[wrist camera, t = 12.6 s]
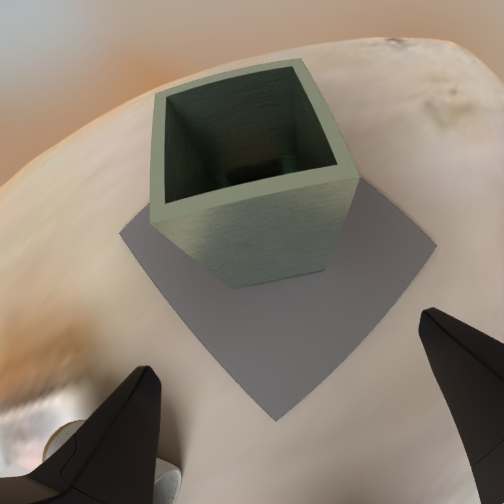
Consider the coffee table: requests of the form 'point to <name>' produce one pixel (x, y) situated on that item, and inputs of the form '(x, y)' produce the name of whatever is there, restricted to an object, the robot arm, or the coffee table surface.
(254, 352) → the mat
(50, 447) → the ceramic mug
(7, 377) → the coffee table surface
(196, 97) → the tin
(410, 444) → the coffee table surface
